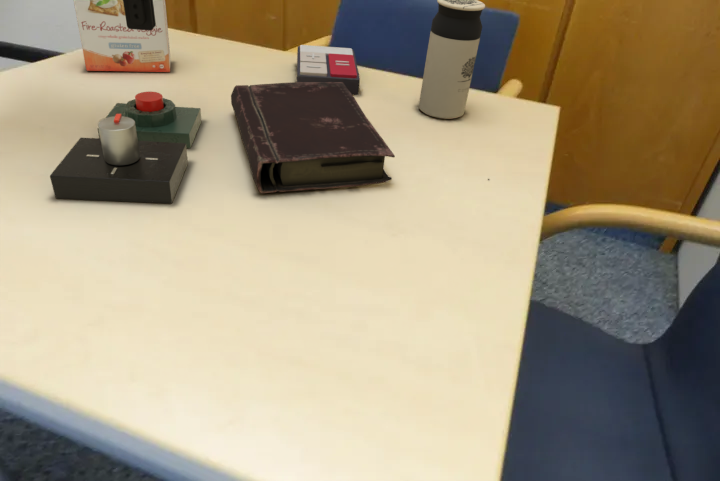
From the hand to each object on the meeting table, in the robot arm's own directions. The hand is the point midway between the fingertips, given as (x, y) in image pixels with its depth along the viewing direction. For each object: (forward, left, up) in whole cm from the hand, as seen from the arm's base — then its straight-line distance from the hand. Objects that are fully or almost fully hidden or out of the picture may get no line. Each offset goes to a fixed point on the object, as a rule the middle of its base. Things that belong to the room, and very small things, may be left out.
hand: (141, 27), depth 71 cm
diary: (+22, -2, -15) cm, 26 cm away
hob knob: (0, -14, -11) cm, 18 cm away
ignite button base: (0, 0, -15) cm, 15 cm away
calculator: (+25, +27, -15) cm, 40 cm away
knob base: (0, -14, -15) cm, 20 cm away
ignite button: (0, 0, -11) cm, 11 cm away
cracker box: (-10, +26, -15) cm, 32 cm away
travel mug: (+45, +15, -15) cm, 49 cm away
